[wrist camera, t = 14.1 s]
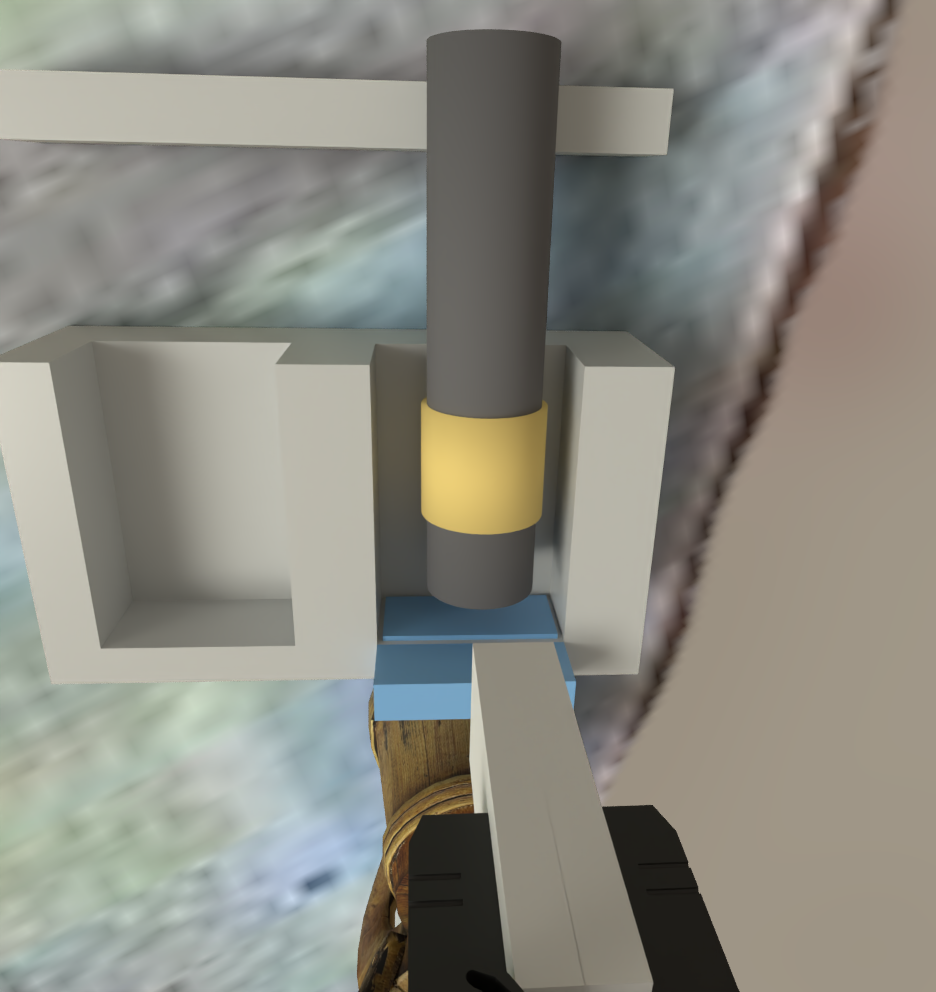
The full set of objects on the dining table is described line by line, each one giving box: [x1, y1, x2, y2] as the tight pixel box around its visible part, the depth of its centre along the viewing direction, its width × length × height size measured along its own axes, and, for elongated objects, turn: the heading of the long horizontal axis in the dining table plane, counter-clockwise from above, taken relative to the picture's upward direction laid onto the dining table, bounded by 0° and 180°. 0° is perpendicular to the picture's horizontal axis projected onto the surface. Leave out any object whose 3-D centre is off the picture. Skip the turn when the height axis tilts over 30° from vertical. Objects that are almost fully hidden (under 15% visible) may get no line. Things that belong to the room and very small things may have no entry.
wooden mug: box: [357, 688, 474, 992], centre depth 31 cm, size 9×14×18 cm, turn 135°
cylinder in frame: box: [0, 69, 675, 721], centre depth 28 cm, size 20×22×9 cm
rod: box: [421, 29, 561, 610], centre depth 27 cm, size 18×4×4 cm, turn 179°
